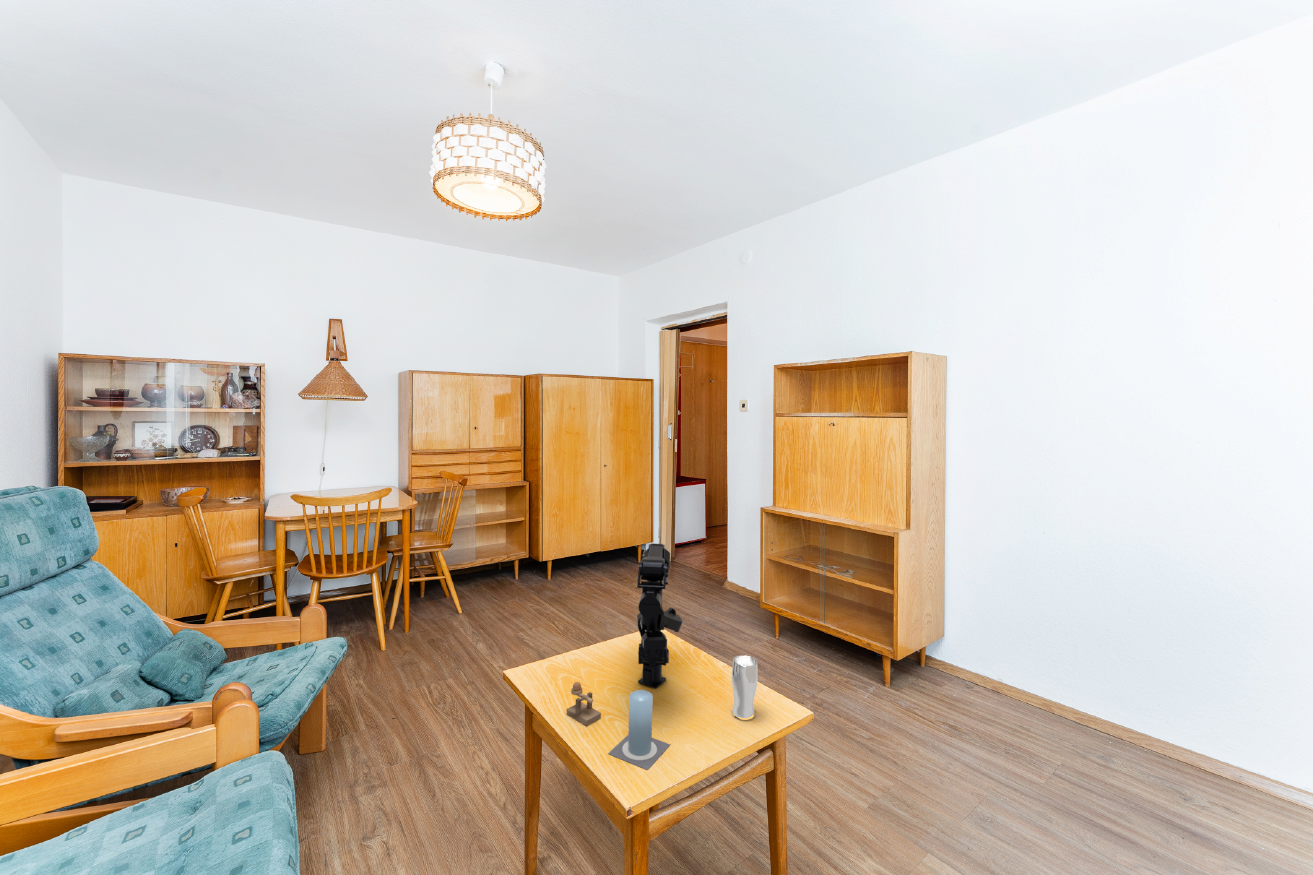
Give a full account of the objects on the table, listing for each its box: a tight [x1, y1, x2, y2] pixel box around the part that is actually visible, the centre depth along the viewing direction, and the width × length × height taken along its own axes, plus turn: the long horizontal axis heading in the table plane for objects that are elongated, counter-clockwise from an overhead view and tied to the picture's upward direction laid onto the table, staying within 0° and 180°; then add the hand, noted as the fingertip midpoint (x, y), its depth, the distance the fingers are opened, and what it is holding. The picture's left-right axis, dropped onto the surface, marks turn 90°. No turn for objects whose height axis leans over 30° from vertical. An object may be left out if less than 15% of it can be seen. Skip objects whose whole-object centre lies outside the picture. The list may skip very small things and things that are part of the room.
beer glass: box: [731, 655, 759, 718], centre depth 145 cm, size 7×7×15 cm
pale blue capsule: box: [627, 689, 654, 756], centre depth 129 cm, size 6×6×13 cm
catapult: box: [566, 681, 602, 727], centre depth 143 cm, size 8×5×8 cm, turn 49°
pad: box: [607, 734, 671, 771], centre depth 129 cm, size 11×11×1 cm
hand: (650, 659), depth 148 cm, fingers open, 9 cm apart
